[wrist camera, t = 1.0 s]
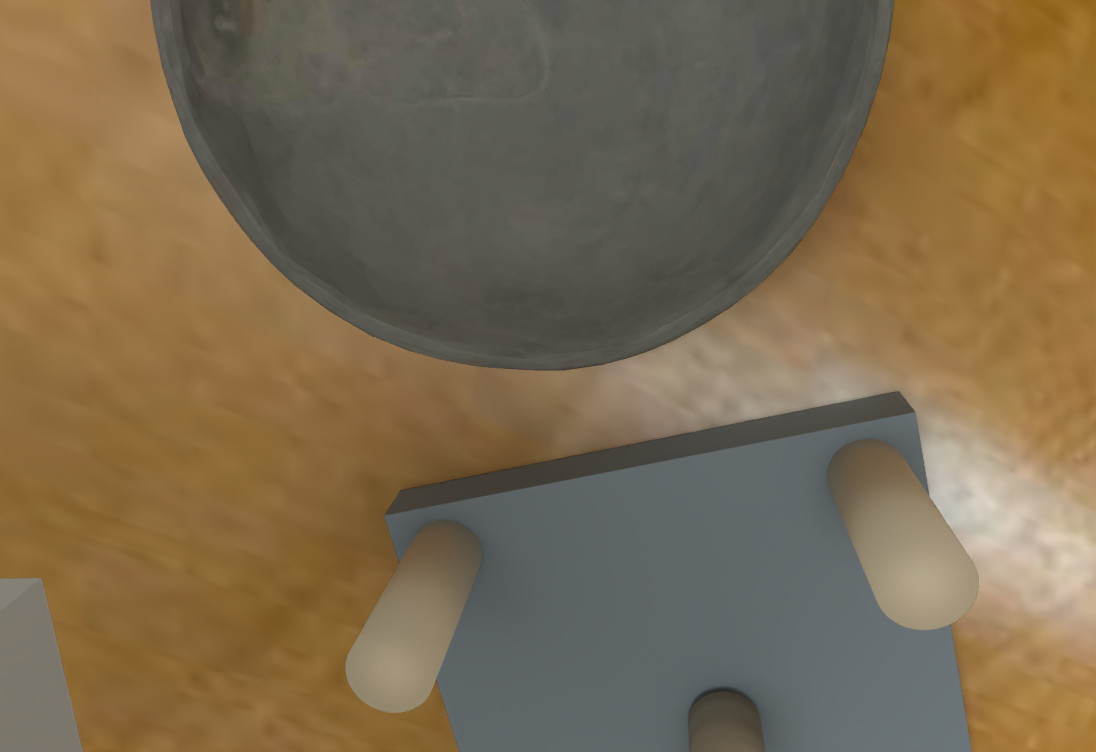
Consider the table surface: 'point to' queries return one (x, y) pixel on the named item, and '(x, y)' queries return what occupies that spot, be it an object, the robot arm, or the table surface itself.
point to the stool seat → (683, 593)
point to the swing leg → (725, 724)
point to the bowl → (524, 156)
